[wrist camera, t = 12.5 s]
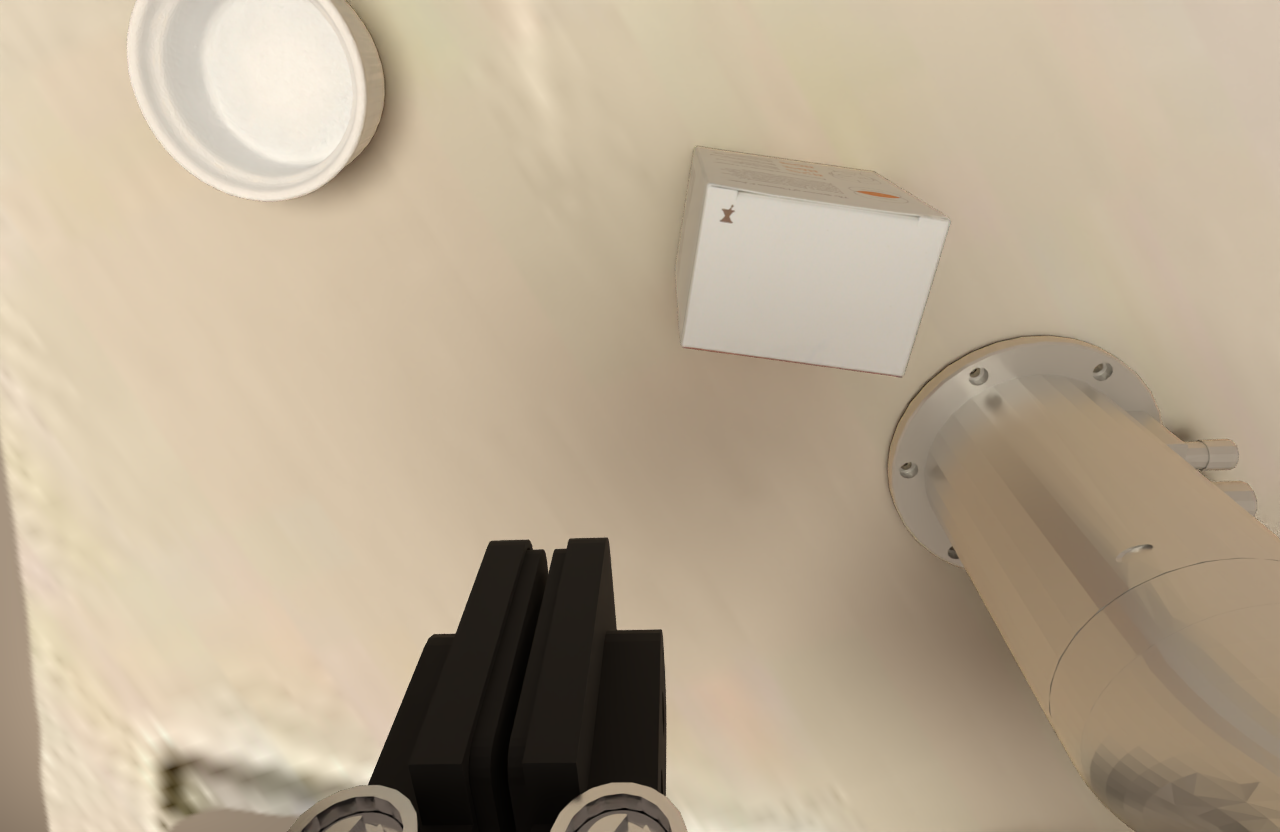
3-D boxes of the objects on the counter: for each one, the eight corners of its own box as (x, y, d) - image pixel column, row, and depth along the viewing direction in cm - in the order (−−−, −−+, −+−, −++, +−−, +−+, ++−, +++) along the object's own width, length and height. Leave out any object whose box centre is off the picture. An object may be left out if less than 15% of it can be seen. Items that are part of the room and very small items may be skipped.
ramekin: (204, -83, 32) (138, -100, 28) (422, 7, 33) (389, 3, 29) (174, 139, 36) (112, 152, 32) (372, 214, 37) (336, 235, 33)
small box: (673, 269, 37) (672, 350, 28) (693, 141, 35) (701, 180, 25) (847, 295, 37) (906, 384, 28) (879, 169, 35) (956, 219, 25)
